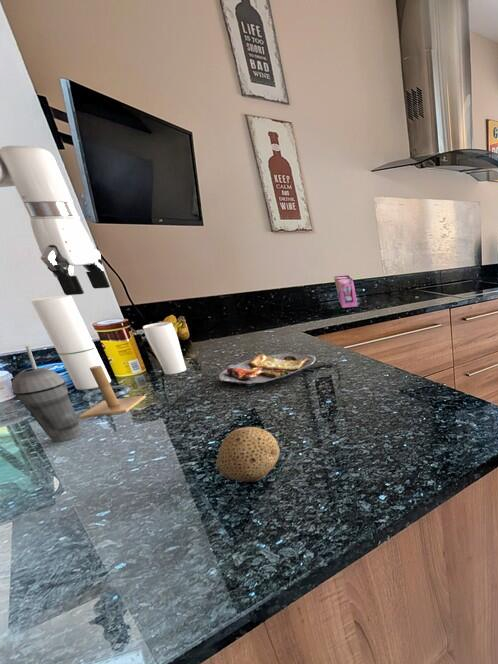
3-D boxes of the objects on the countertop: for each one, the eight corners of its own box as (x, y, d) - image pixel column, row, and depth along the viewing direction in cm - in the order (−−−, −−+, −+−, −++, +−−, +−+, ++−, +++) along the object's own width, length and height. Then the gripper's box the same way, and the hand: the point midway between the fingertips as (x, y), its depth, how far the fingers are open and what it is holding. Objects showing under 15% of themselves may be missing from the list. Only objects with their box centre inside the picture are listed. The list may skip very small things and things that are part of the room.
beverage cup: (44, 437, 84) (-8, 348, 76) (91, 424, 89) (47, 340, 81) (40, 449, 80) (-15, 356, 72) (90, 436, 84) (43, 347, 76)
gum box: (358, 306, 203) (353, 280, 198) (342, 308, 200) (336, 281, 195) (353, 299, 223) (348, 275, 218) (338, 301, 220) (333, 276, 214)
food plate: (201, 384, 110) (196, 372, 109) (270, 357, 130) (267, 347, 129) (270, 392, 103) (266, 380, 102) (332, 363, 123) (329, 352, 122)
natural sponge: (295, 478, 68) (280, 428, 64) (236, 505, 62) (216, 452, 58) (276, 459, 74) (260, 412, 70) (220, 482, 67) (200, 432, 64)
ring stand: (80, 420, 91) (57, 376, 87) (104, 404, 99) (84, 363, 94) (127, 414, 93) (107, 370, 89) (147, 399, 101) (129, 358, 97)
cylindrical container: (113, 379, 115) (73, 294, 105) (111, 386, 110) (68, 297, 100) (79, 386, 111) (34, 297, 101) (75, 394, 106) (27, 301, 96)
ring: (74, 406, 99) (72, 401, 98) (97, 392, 107) (95, 387, 106) (119, 400, 101) (116, 395, 101) (138, 387, 109) (136, 382, 109)
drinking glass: (156, 376, 117) (135, 327, 111) (178, 368, 123) (160, 321, 117) (173, 378, 115) (154, 328, 109) (195, 369, 121) (178, 322, 115)
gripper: (60, 213, 92) (93, 286, 99) (-3, 211, 77) (41, 298, 84) (99, 212, 94) (128, 284, 101) (45, 210, 79) (84, 295, 86)
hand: (89, 291), depth 93 cm, fingers open, 9 cm apart
